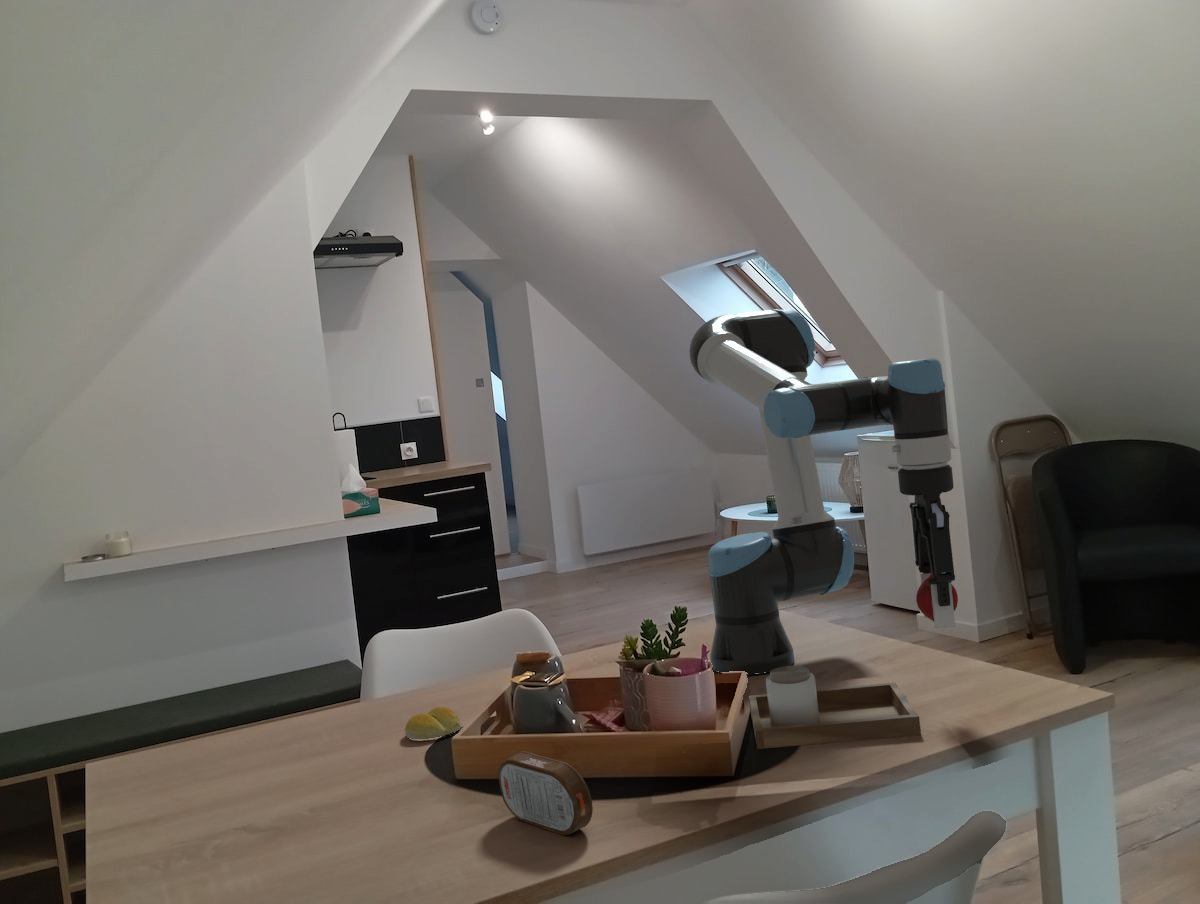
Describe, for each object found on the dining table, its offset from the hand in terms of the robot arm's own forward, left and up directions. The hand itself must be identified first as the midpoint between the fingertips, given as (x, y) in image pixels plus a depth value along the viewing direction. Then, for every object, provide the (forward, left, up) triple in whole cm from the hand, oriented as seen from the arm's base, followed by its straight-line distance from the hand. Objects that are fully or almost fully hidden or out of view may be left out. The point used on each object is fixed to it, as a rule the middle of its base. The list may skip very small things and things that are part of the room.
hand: (939, 621), depth 146 cm
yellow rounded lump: (-10, -81, -13) cm, 82 cm away
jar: (+5, -23, -12) cm, 26 cm away
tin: (+30, -56, -13) cm, 65 cm away
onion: (0, 0, -1) cm, 1 cm away
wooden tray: (+5, -18, -13) cm, 23 cm away
